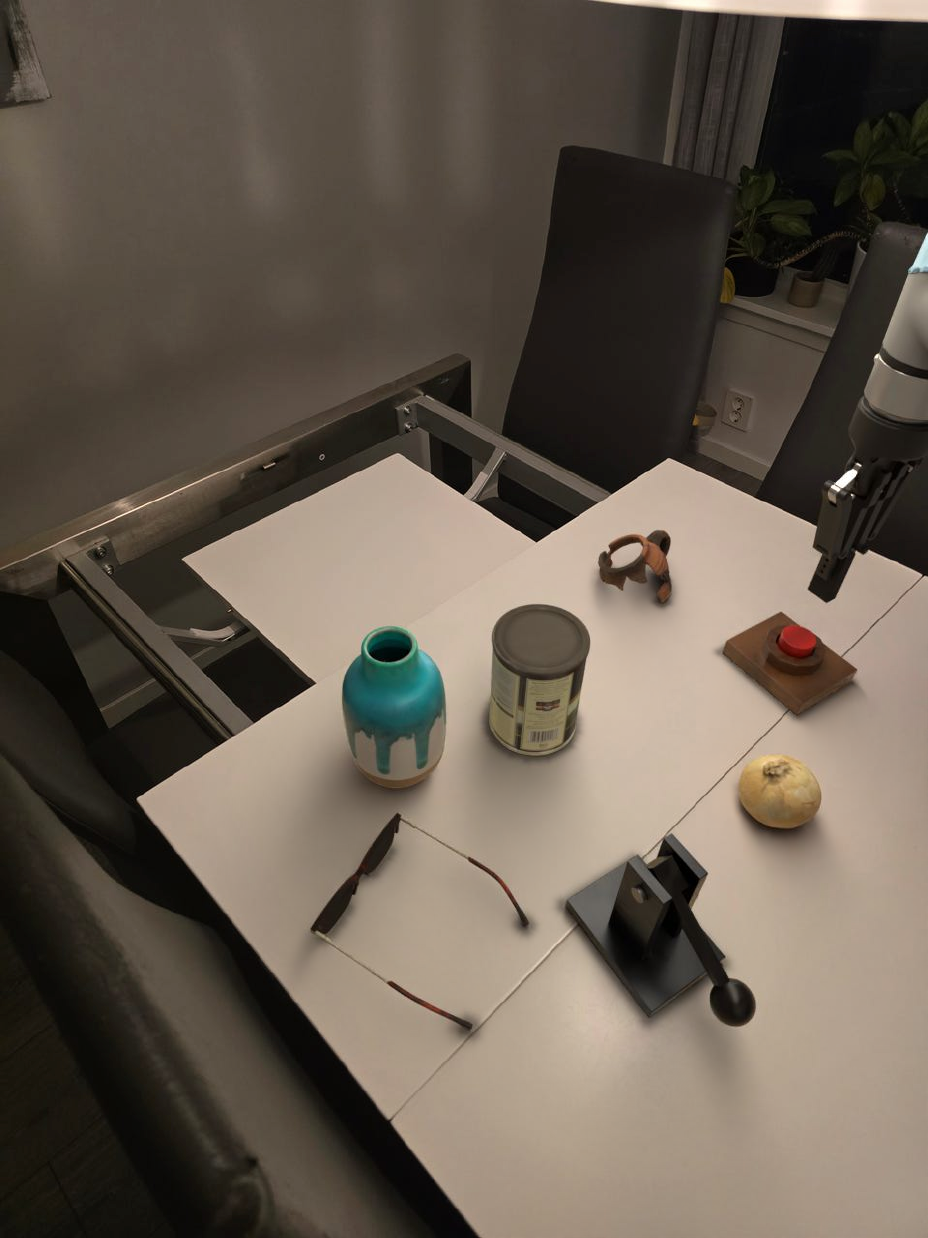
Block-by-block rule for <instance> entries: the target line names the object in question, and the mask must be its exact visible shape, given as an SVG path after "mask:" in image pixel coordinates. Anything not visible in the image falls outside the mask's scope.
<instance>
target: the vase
mask: <svg viewBox="0 0 928 1238" xmlns="http://www.w3.org/2000/svg"><path fill="white" fill-rule="evenodd" d="M341 688H342V689H341V707H342V716H343V723H344V724H343V725H344V730H345V735H346V740H347V744H348V747H349V750H350V753H351V757H352V758H353V761H354V763H355V765H356V767H357V768H358V769H359V771H360V773H362V775H364V776H365V777H366V778H367V779H368V780H369V781H371V782H373V783H375V784H377V785H379V786H382V787H386V788H390V789H391V788H392V789H401V788H402V789H403V788H408V787H411V786H414V785H417V784H419V783H420V782H422V781H424V780H425V779H427V778H428V777H429V776H430V775H431V774H432V773H433V772H434V770H435V769H436V768H437V767H438V765H439V763H440V761H441V759H442V756H443V753H444V750H445V744H446V736H447V723H448V721H447V700H446V689H445V684H444V680H443V676H442V673H441V670H440V668H439V666H438V665H437V663H436V662H435V661H434V659H433V658H432V657H431V656H430V655H429V654H427V653H426V651H424V650H422V649H420V648H419V645H418V641H417V639H416V636H415V635H414V634H413V633H412V632H410V631H409V630H407V629H405V628H404V627H401V626H392V625H387V626H382V627H378V628H376V629H373V630H372V631H370V632H369V633H367V634H366V636H365V637H364V638H363V640H362V642H361V647H360V653H359V655H358V656H357V657H356V658H355V659H354V660H353V661H352V662H351V663H350V665H349V666H348V668H347V669H346V671H345V674H344V676H343V680H342V687H341Z"/></svg>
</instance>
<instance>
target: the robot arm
mask: <svg viewBox="0 0 928 1238" xmlns="http://www.w3.org/2000/svg"><path fill="white" fill-rule="evenodd" d="M873 363H874V364H873V367H872V369H871V372H870V374H869V376H868V377H869V378H868V379H867V383H866V385H865V388H864V390H863V391H864V392H863V393H864V395H862V396H861V397H860V399H859V401H858V403H857V405H856V409H855V411H854V413H853V416H852V419H851V421H850V423H849V426H848V436H849V438H850V439H851V442H852V444H853V446H854V451H853V453H852V455H851V456H850V458H849V459H848V461H847V462H846V464H845V465H844V474H843V475H842V476H841V477H840V478H839V479H838V480H837V481H836V482H833V481H832V480H831V479H828V480H826V481H825V482H824V483H823V485H822V486H821V489H820V490H821V495H822V502H821V508H820V511H819V515H818V521H817V523H816V524H817V525H816V529H815V532H814V533H815V534H814V538H813V544H812V549H814V550H815V551H817V552H818V553H819V554H821V555H820V558H819V561H818V563H817V566H816V568H815V570H814V573H813V575H812V578H811V579H810V582H809V583H808V587H807V591H808V592H809V593H811V594H813V595H814V596H816V597H817V598H818V599H820V600H821V601H822V602H824V603H826V604H828V603H830V602H832V601H833V600H835V599H836V598H837V596H838V594H839V592H840V589H841V587H842V585H843V583H844V581H845V578H846V576H847V574H848V572H849V570H850V568H851V565H852V564H853V561H854V559H855V557H856V554H857V553H859V554H861V555H862V556H864V555H866V554H867V553H868V552H869V551H870V549H871V547H869V546H868V545H865V543H866V542H867V540H868V541H870V542H871V541H873V540H874V539H875V538H876V537H877V535H878V534H879V532H880V530H881V528H882V526H883V525H884V523H885V522H886V520H887V518H888V517H889V515H890V513H891V511H893V509H894V506H895V505H896V504H897V501H898V500H899V498H900V497H901V495H902V493H903V492H904V490H905V489H906V487H907V485H908V483H909V482H910V481H911V479H912V477H914V475H915V473H916V472H917V471H918V470H919V469H920V467H922V465H923V464H924V461H925V459H926V458H925V457H926V456H928V232H927V233H926V235H925V238H924V240H923V242H922V243H921V246H920V249H919V250H918V253H917V255H916V258H915V260H914V263H913V264H912V266H911V267H909V269H908V272H907V277H906V279H905V282H904V285H903V287H902V290H901V293H900V295H899V298H898V300H897V303H896V306H895V308H894V311H893V314H892V316H891V319H890V322H889V324H888V327H887V329H886V332H885V335H884V338H883V340H882V344H881V347H880V350H879V353H877V354H875V356H874V358H873ZM856 552H857V553H856Z"/></svg>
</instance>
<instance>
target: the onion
mask: <svg viewBox="0 0 928 1238" xmlns="http://www.w3.org/2000/svg"><path fill="white" fill-rule="evenodd" d="M738 794H739V799H740V801H741V804H742V807H744V809H745V810H746V811H747V812H748V813H749V814H750V815H751V817H752V818H753V819H754V820H756V821H757V822H759V823H761V824H762V825H765V826H767V827H770V828H778V829H783V830H784V829H794V828H797V827H799V826H802V825H805V824H806V823H808V822H809V821H811V820H812V819H814V817H815V816H816V815H817V813H818V811H819V810H820V807H821V804H822V790H821V786H820V783H819V781H818V779H817V778H816V776H815V774H814V773H813V772H812V770H811V769H810V768H809V767H808V766H807V765H806V764H805V763H803V762H801V761H800V760H799V759H796V758H794V757H791V756H788V755H786V754H766V755H761V756H759V757H757V758H755V759H754V760H752V761H751V762H750V763H748V764H747V765H746V766H745V767H744V768H743V769H742V770H741V774H740V777H739V781H738Z"/></svg>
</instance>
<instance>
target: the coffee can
mask: <svg viewBox="0 0 928 1238" xmlns="http://www.w3.org/2000/svg"><path fill="white" fill-rule="evenodd" d="M491 645H492V650H491V651H492V653H491V656H492V657H491V678H490V679H491V680H490V681H491V682H490V705H489V714H488V722H489V723H488V724H489V728H490V731H491V732H492V735H493V736H494V737H495V739H496V740H497V741H498V743H500V744H501V745H503V746H504V747H505V748H507V749H508V750H510V751H512V752H514V753H517V754H519V755H524V756H529V757H530V756H531V757H537V756H539V757H540V756H547V755H550V754H553V753H556V752H558V751H560V750H561V749H563V748H564V747H566V746H567V745H568V744H569V743H570V741H571V740H572V739H573V737H574V735H575V732H576V728H577V717H578V711H579V706H580V699H581V694H582V687H583V682H584V676H585V671H586V664H587V659H588V656H589V653H590V649H591V635H590V632H589V630H588V628H587V627H586V625H585V624H584V622H583V621H582V620H581V619H580V618H578V617H577V616H576V615H575V614H573V613H572V612H570V611H568V610H566V609H564V608H562V607H559V606H556V605H551V604H543V603H530V604H524V605H520V606H517V607H515V608H512V609H510V610H508V611H506V612H504V614H502V615H501V616H500V617H499V618H498V619H497V621H496V622H495V624H494V625H493V628H492V631H491Z"/></svg>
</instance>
